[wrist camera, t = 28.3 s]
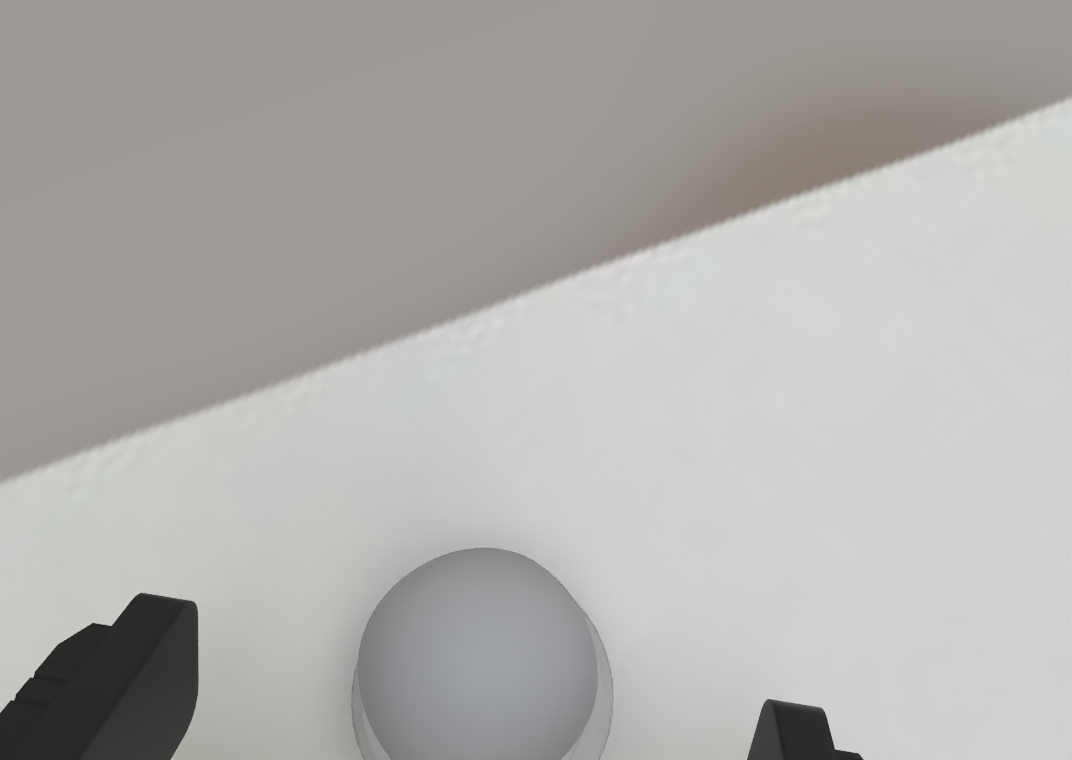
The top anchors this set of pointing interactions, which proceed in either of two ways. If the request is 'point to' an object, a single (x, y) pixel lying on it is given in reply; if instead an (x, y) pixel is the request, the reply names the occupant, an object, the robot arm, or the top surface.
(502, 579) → the chess piece
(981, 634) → the top surface
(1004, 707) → the top surface
